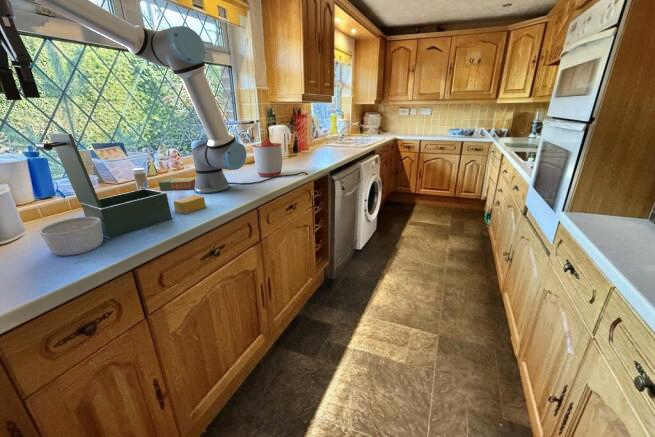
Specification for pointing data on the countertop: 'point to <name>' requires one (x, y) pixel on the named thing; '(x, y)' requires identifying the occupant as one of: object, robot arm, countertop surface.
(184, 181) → the carton
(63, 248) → the ramekin
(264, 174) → the citrus juicer
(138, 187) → the sprinkles bottle
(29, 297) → the countertop surface
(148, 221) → the green lidded box
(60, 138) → the bin lid
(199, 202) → the block
